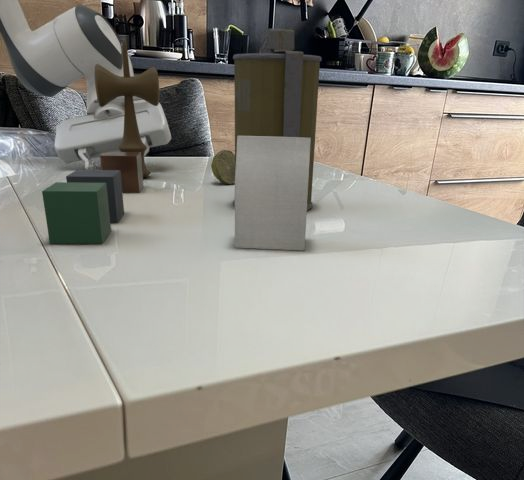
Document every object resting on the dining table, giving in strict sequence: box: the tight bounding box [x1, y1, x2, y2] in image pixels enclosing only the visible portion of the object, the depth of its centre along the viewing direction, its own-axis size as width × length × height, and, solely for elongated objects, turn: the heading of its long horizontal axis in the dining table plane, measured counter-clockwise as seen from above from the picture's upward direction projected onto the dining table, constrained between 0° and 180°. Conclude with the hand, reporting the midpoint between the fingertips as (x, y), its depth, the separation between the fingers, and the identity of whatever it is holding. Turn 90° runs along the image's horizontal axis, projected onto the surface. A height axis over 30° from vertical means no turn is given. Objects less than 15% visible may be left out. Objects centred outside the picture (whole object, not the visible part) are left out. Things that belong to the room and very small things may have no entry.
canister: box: [232, 28, 323, 211], centre depth 67 cm, size 11×10×20 cm
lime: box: [210, 149, 235, 185], centre depth 86 cm, size 4×5×5 cm
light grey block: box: [234, 136, 311, 251], centre depth 52 cm, size 4×7×10 cm, turn 85°
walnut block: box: [99, 152, 144, 194], centre depth 79 cm, size 5×5×5 cm
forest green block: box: [41, 181, 112, 245], centre depth 54 cm, size 5×5×5 cm
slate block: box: [65, 169, 125, 224], centre depth 62 cm, size 5×5×5 cm
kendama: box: [94, 39, 160, 178], centre depth 86 cm, size 6×10×20 cm, turn 102°
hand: (114, 167), depth 94 cm, fingers open, 7 cm apart
